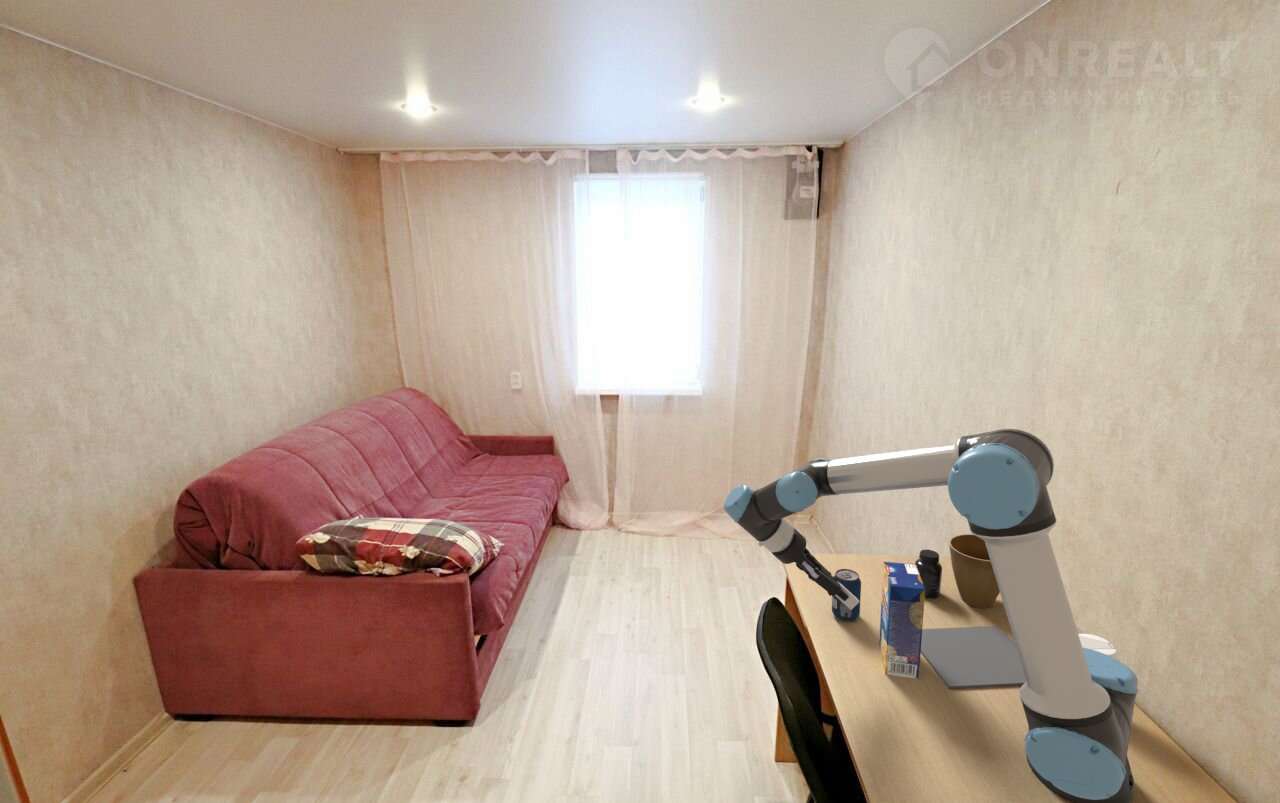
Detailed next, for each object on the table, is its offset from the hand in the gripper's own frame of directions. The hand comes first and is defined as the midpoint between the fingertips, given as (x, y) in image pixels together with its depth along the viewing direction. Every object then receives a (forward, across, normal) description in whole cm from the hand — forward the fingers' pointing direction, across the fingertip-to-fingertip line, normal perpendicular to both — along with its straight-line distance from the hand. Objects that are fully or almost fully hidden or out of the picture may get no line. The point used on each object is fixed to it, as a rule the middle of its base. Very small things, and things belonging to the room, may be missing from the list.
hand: (853, 604), depth 130 cm
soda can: (+14, -18, -7) cm, 24 cm away
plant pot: (+40, -21, +19) cm, 50 cm away
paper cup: (+40, +17, +19) cm, 48 cm away
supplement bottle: (+33, -26, +12) cm, 44 cm away
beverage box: (+18, +1, -3) cm, 18 cm away
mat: (+31, +1, +10) cm, 32 cm away
